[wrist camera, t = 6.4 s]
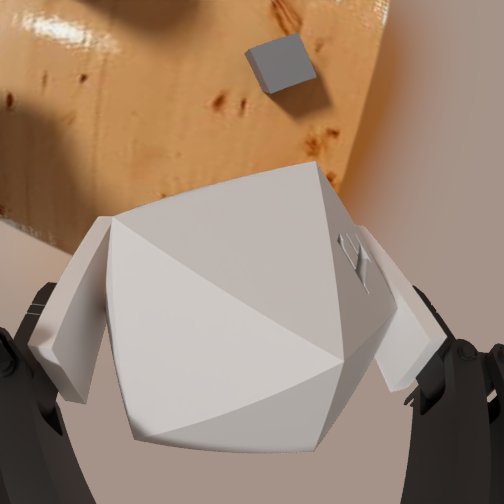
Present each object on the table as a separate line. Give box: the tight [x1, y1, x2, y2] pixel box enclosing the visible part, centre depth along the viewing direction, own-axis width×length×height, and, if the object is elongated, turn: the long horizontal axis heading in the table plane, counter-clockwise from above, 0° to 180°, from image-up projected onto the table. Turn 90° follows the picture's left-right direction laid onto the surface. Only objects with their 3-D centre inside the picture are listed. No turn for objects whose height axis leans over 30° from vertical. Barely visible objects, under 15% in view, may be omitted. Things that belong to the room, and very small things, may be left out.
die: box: [105, 161, 398, 453], centre depth 9 cm, size 8×9×10 cm
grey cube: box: [245, 33, 317, 94], centre depth 26 cm, size 5×5×5 cm
